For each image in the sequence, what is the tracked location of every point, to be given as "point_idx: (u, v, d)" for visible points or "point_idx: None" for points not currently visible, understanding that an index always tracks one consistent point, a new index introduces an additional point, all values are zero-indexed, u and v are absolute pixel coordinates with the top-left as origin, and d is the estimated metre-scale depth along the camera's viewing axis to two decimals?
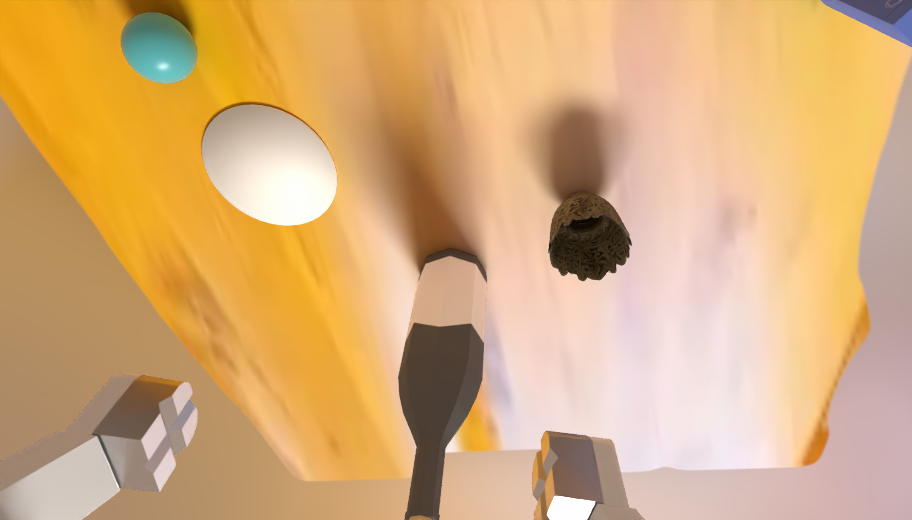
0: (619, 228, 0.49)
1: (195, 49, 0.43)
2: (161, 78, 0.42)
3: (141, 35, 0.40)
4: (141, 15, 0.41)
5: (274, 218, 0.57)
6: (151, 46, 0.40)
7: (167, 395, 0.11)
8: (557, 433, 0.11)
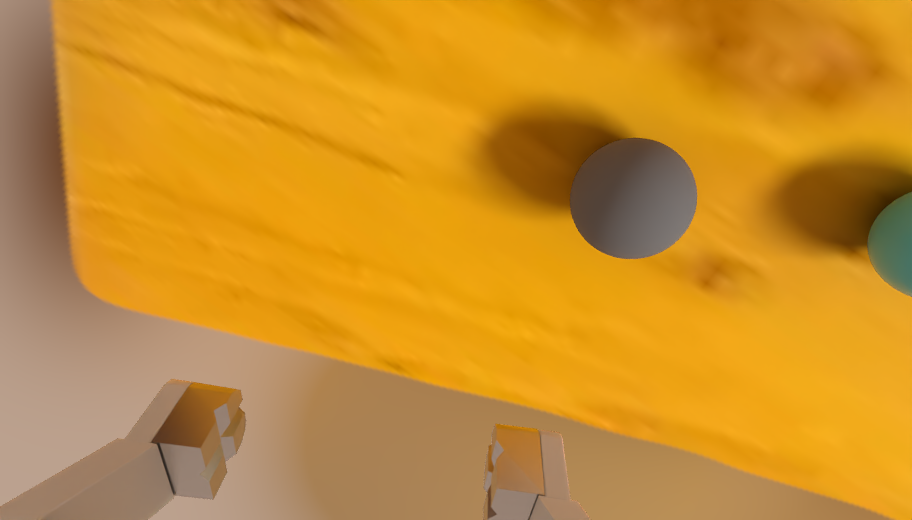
0: None
1: None
2: None
3: None
4: (908, 226, 0.23)
5: None
6: None
7: (221, 402, 0.11)
8: (506, 426, 0.11)
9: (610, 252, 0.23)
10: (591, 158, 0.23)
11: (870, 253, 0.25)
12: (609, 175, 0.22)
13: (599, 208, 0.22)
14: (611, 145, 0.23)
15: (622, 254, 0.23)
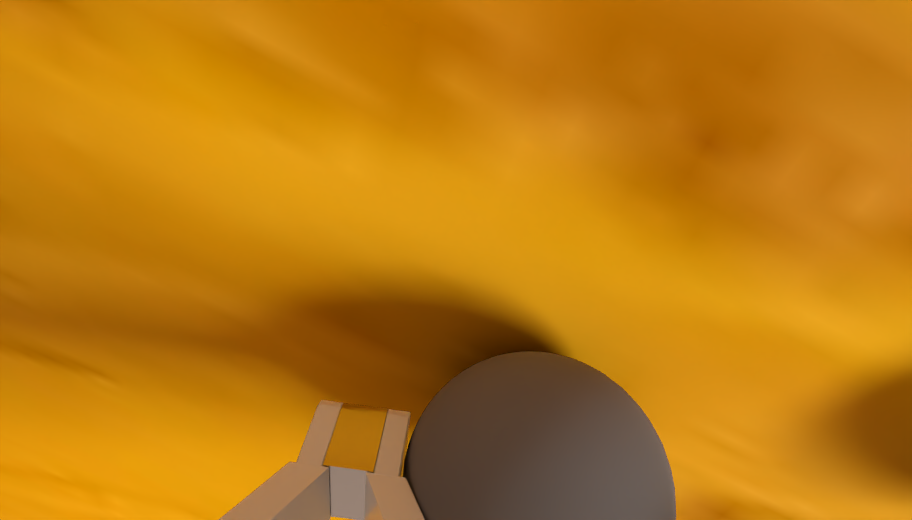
0: None
1: None
2: None
3: None
4: None
5: None
6: None
7: (376, 424, 0.11)
8: (356, 405, 0.11)
9: None
10: (428, 427, 0.10)
11: None
12: (458, 513, 0.09)
13: None
14: (468, 400, 0.10)
15: None
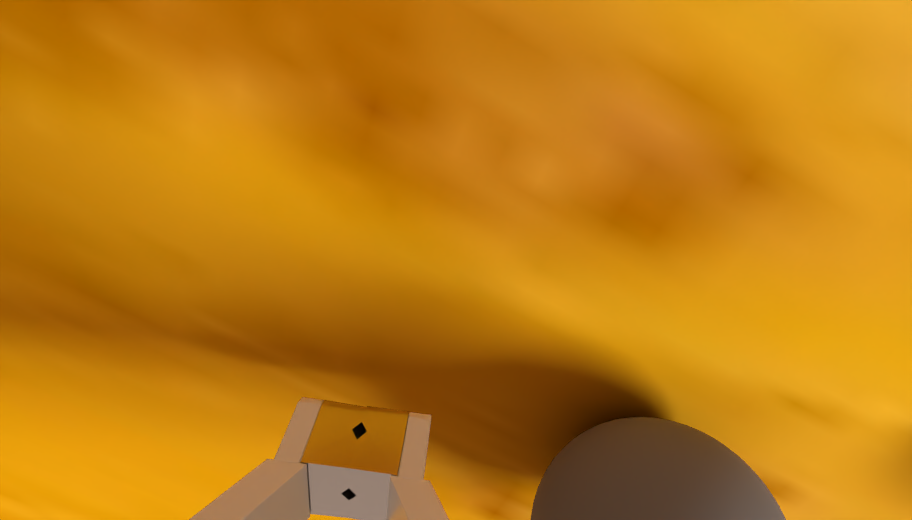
0: None
1: None
2: None
3: None
4: None
5: None
6: None
7: (356, 421, 0.11)
8: (377, 408, 0.11)
9: None
10: None
11: None
12: None
13: None
14: None
15: None
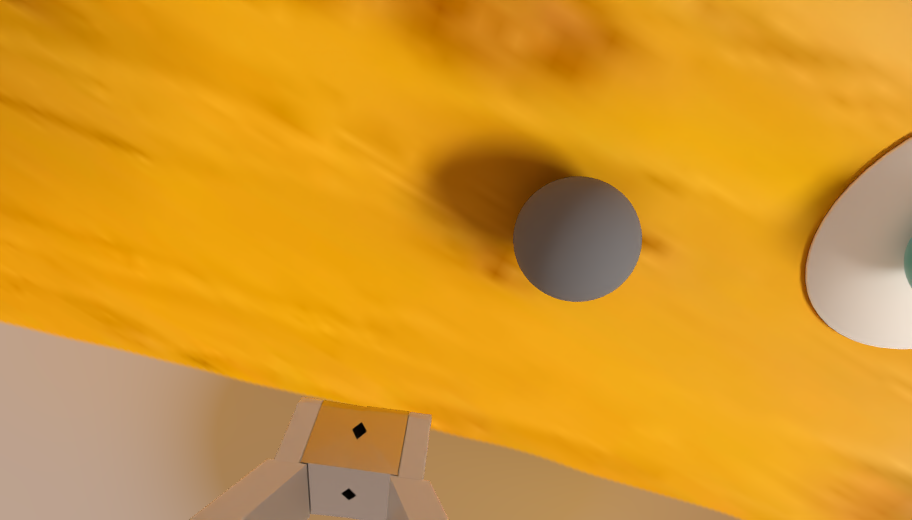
0: None
1: None
2: None
3: None
4: None
5: None
6: None
7: (356, 421, 0.11)
8: (377, 408, 0.11)
9: None
10: (638, 246, 0.21)
11: None
12: None
13: None
14: (629, 228, 0.21)
15: None
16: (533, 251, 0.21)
